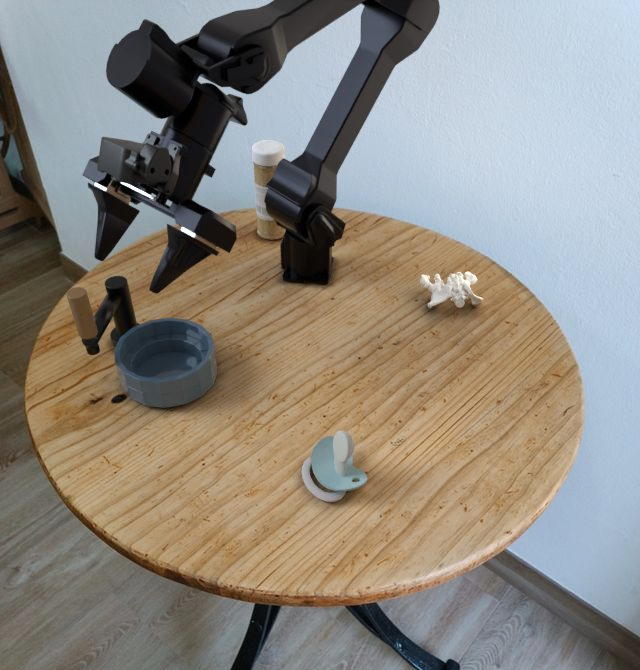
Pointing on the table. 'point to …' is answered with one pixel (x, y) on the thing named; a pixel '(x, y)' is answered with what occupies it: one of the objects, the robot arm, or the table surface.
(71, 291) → the black crank handle
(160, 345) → the basin
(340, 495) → the pacifier
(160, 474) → the table surface
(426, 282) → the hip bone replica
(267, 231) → the sprinkles bottle
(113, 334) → the base
